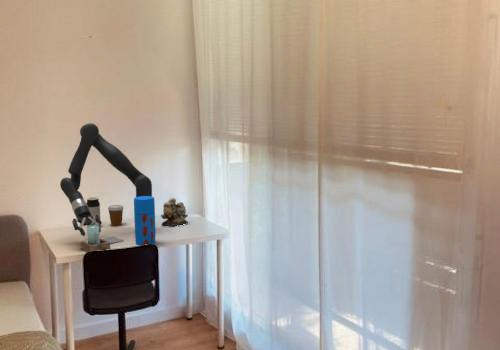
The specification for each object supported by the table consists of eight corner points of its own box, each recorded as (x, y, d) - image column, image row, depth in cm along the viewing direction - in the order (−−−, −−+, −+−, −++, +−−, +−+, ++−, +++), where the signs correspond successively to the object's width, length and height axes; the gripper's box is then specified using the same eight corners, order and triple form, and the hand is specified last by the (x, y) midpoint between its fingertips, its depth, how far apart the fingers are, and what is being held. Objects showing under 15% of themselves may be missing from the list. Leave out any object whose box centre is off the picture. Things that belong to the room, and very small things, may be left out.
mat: (113, 237, 273) (113, 236, 273) (123, 241, 266) (123, 240, 265) (95, 241, 265) (95, 240, 265) (105, 245, 258) (105, 244, 258)
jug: (96, 246, 256) (95, 224, 254) (104, 249, 250) (103, 227, 248) (85, 248, 251) (84, 226, 250) (93, 252, 245) (92, 229, 244)
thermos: (137, 240, 267) (135, 196, 264) (156, 239, 268) (155, 195, 265) (134, 246, 256) (132, 199, 253) (154, 245, 257) (153, 199, 254)
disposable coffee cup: (119, 227, 296) (119, 208, 294) (105, 226, 298) (104, 207, 296) (126, 223, 305) (126, 205, 304) (113, 222, 307) (112, 204, 306)
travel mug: (100, 228, 294) (98, 199, 292) (86, 228, 293) (85, 199, 290) (101, 224, 302) (100, 196, 299) (88, 225, 300) (86, 197, 298)
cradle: (99, 245, 258) (98, 238, 257) (110, 249, 250) (109, 242, 250) (80, 249, 250) (80, 241, 250) (91, 253, 243) (91, 246, 242)
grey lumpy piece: (165, 228, 293) (164, 201, 291) (157, 225, 302) (156, 198, 300) (191, 224, 304) (190, 197, 301) (182, 220, 313) (181, 195, 311)
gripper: (69, 206, 250) (81, 232, 244) (95, 203, 260) (106, 227, 254) (65, 215, 254) (76, 240, 248) (90, 211, 264) (102, 235, 258)
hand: (92, 233), depth 251 cm, fingers open, 8 cm apart
